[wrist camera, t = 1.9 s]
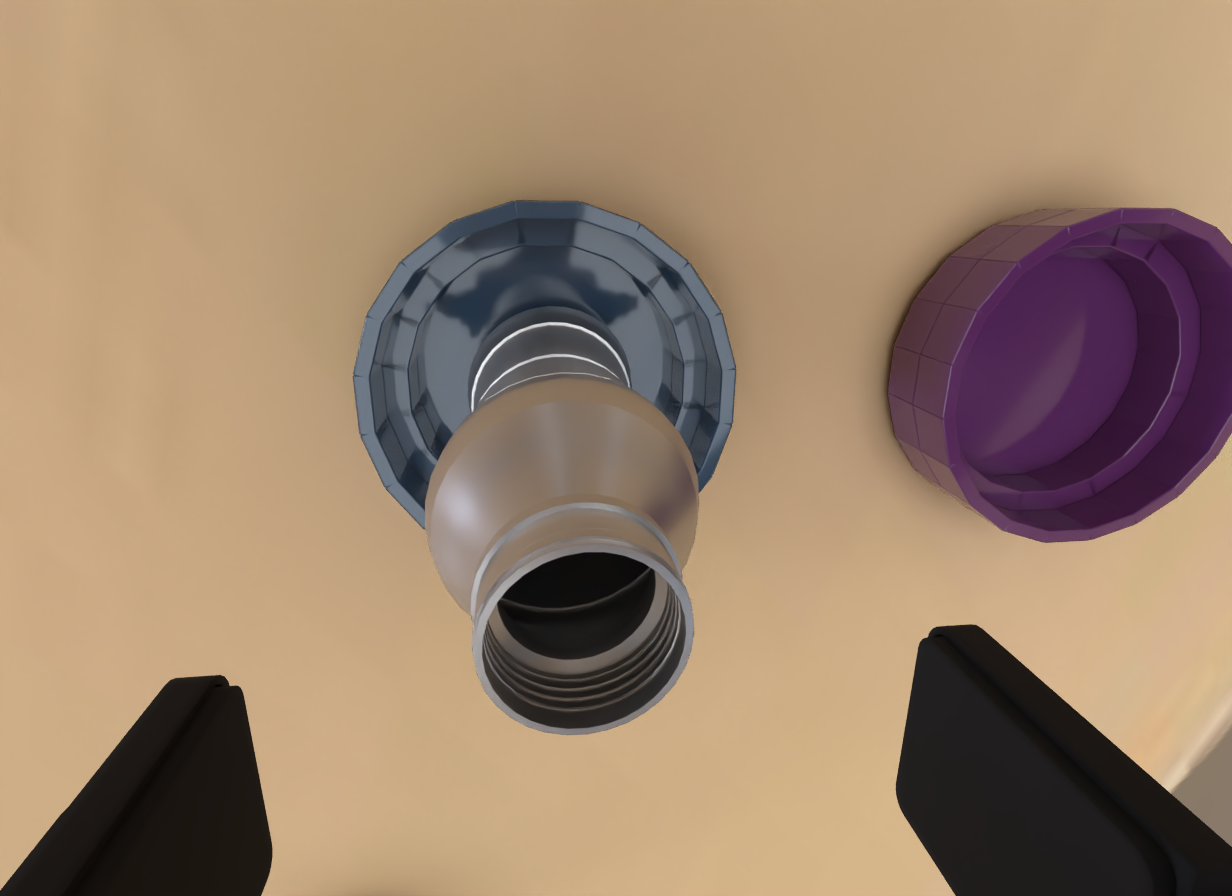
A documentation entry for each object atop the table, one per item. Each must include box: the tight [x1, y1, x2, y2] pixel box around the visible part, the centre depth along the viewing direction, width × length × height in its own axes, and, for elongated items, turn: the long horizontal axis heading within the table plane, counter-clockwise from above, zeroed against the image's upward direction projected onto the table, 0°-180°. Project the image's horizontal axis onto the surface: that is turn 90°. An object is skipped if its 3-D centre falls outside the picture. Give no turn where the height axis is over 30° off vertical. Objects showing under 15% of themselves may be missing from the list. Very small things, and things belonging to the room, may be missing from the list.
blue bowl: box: [353, 200, 736, 530], centre depth 28 cm, size 14×14×5 cm
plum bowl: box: [888, 208, 1232, 543], centre depth 31 cm, size 14×14×5 cm
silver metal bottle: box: [425, 306, 699, 735], centre depth 20 cm, size 6×7×20 cm
